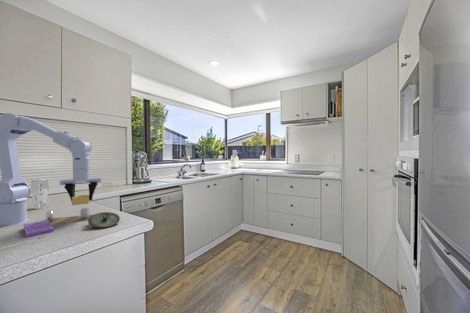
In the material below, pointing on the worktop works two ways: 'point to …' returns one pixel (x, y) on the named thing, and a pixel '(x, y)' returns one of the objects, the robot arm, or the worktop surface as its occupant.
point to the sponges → (38, 228)
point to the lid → (103, 220)
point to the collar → (80, 199)
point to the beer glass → (39, 193)
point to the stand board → (83, 217)
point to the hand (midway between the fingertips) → (82, 200)
